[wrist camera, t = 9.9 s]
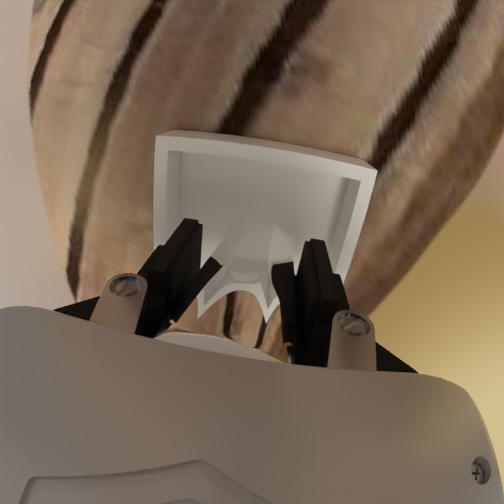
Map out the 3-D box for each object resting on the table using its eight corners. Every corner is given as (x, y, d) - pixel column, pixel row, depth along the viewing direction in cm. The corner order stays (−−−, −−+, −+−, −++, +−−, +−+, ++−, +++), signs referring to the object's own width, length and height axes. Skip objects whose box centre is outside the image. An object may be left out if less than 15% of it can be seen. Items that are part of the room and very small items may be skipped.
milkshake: (242, 168, 12) (94, 355, 3) (329, 254, 13) (348, 486, 4) (179, 237, 14) (49, 412, 5) (260, 306, 15) (214, 502, 6)
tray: (175, 129, 13) (155, 135, 11) (362, 159, 13) (377, 170, 11) (170, 284, 18) (157, 309, 15) (318, 308, 18) (322, 337, 15)
